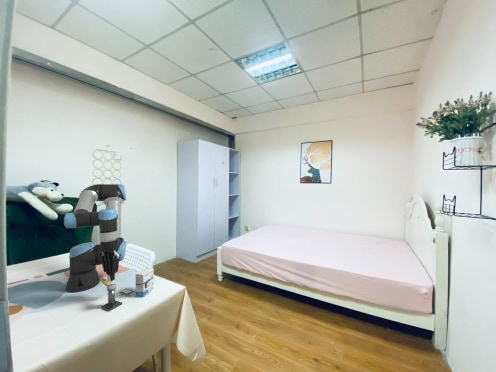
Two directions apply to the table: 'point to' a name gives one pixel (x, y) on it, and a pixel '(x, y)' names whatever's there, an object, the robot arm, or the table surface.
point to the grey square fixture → (111, 302)
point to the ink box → (144, 281)
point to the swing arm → (107, 283)
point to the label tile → (126, 292)
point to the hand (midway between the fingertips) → (111, 286)
